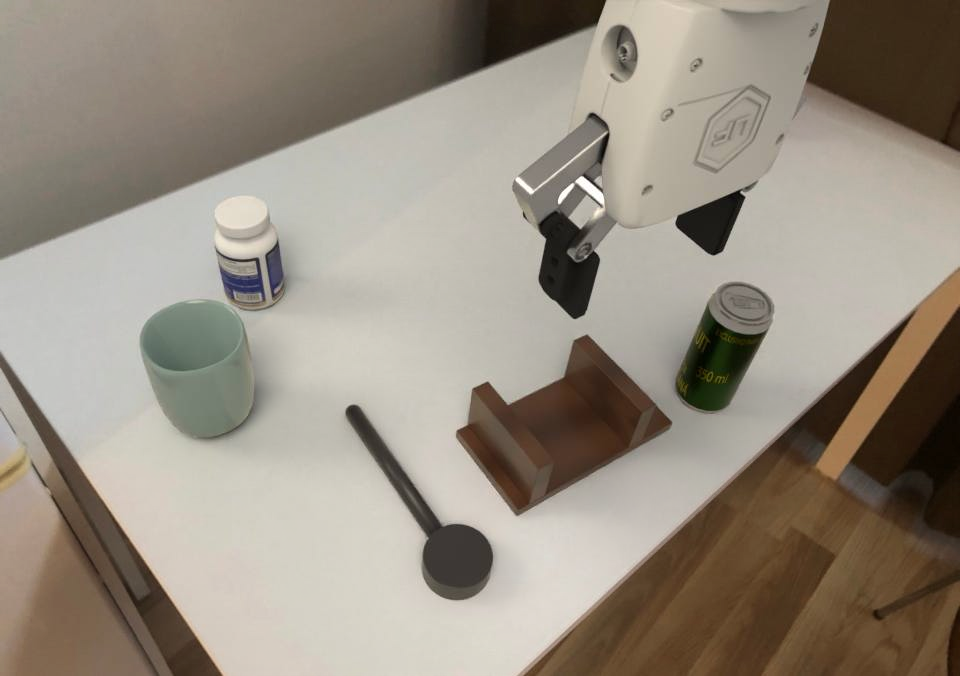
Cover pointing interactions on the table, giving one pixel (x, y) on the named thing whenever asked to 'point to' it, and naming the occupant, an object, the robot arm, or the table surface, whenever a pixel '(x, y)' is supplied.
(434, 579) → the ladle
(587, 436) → the rack
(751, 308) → the beer can
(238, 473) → the table surface
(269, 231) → the pill bottle
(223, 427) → the cup
